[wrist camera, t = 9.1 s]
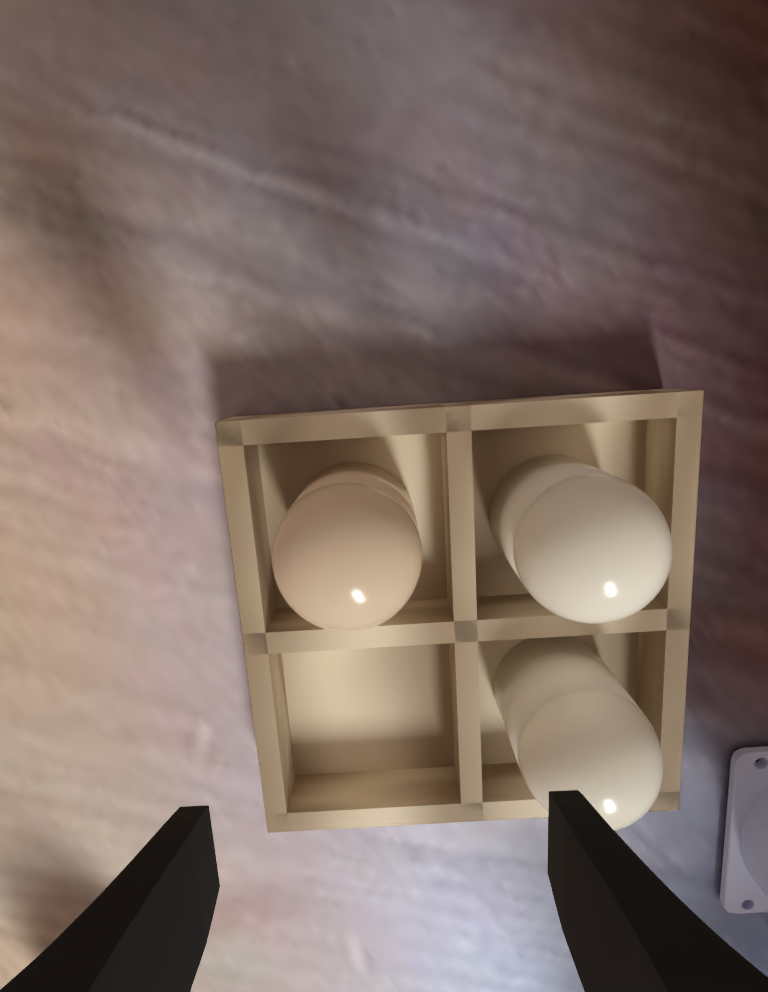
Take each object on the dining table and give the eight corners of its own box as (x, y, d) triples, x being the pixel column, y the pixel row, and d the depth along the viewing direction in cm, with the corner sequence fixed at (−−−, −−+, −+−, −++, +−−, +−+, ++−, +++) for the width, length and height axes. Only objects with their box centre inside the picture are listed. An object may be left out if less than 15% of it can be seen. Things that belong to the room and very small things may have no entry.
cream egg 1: (607, 447, 20) (706, 479, 14) (612, 564, 21) (706, 642, 14) (484, 461, 20) (527, 500, 14) (494, 577, 21) (538, 660, 15)
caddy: (664, 388, 20) (703, 390, 17) (647, 763, 23) (679, 809, 20) (235, 416, 20) (215, 421, 17) (280, 784, 23) (267, 832, 21)
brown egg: (411, 457, 20) (423, 494, 14) (417, 574, 21) (431, 656, 15) (289, 465, 20) (246, 504, 14) (301, 580, 21) (265, 665, 15)
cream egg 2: (603, 626, 21) (692, 725, 15) (607, 727, 22) (694, 860, 16) (488, 639, 21) (531, 743, 15) (498, 740, 22) (542, 876, 16)
